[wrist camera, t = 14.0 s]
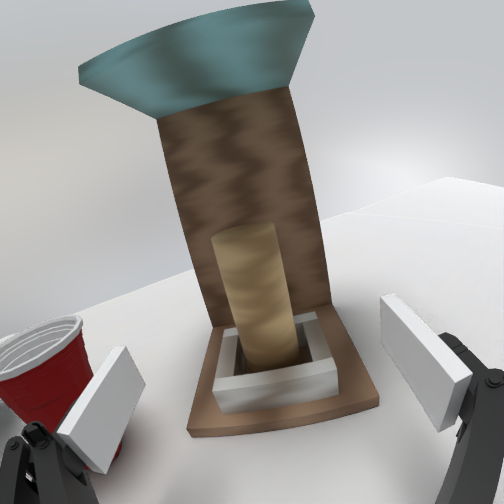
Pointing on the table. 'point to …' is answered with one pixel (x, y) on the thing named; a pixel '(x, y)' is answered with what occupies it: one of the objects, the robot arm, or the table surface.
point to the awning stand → (242, 201)
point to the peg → (258, 295)
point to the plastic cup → (45, 371)
